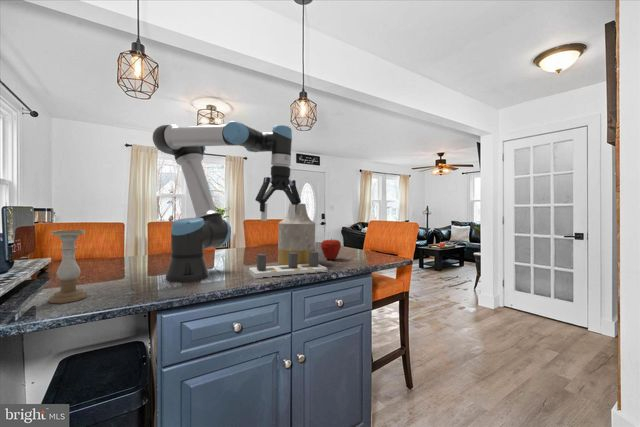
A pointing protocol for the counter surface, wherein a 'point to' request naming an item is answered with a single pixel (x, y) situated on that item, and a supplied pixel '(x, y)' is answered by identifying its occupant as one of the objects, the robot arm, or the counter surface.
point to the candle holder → (68, 269)
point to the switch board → (284, 270)
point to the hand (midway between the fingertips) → (278, 220)
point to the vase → (296, 236)
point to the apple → (330, 248)
